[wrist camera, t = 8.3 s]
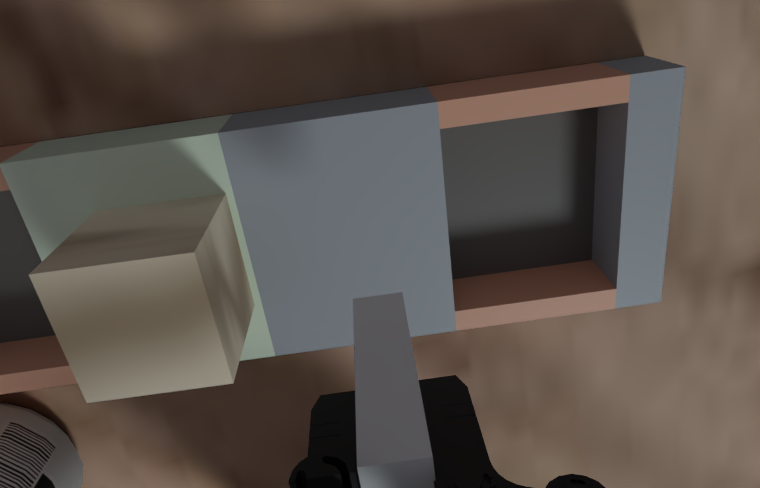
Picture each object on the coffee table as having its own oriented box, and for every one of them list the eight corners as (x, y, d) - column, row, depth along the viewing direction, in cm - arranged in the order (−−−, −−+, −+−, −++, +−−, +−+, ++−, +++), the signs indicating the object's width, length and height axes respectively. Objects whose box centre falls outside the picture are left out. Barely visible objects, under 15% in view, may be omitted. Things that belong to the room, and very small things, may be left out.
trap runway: (629, 269, 27) (660, 301, 25) (-64, 366, 27) (-108, 409, 25) (645, 55, 23) (685, 66, 20) (-179, 172, 23) (-248, 198, 20)
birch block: (254, 304, 24) (233, 383, 19) (135, 320, 24) (86, 403, 19) (225, 193, 21) (194, 252, 17) (95, 210, 21) (28, 274, 17)
